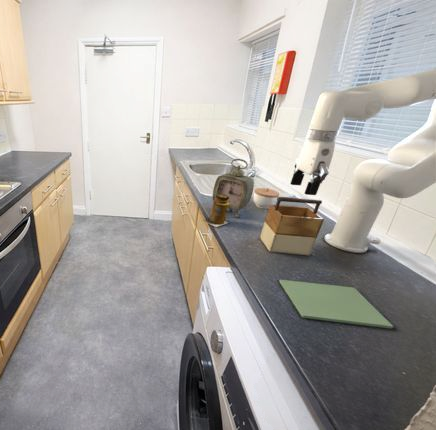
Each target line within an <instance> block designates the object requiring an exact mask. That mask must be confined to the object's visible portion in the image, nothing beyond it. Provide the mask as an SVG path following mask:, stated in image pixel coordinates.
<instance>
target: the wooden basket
mask: <svg viewBox="0 0 436 430" xmlns="http://www.w3.org/2000/svg"><path fill="white" fill-rule="evenodd" d="M281 202H286V203H296V204H297V203H299V204H312V205H313V204H314V205H315V207H314V209H311V208H310V207H308V206H298V205H297V206H296V205H282V204H281ZM322 203H323V201H322V199H313V198H299V197H298V198H297V197H285V196H284V197H283V196H278V198H277V201H276V203H275V204H274V205H271V204H270V206H269V208H268V209H267V213H266V216H265V220H264V222H266V224H267V225H268V226H269V227H270V228H271V230H272V231H273V232H274V233H275V234H278V235H289V236H300V237H311V238H316V239H317V238H318V235H319V233H320V230H321V228H322V225H323V223H324V221H325V219H324V218H323V217H322V216H321V215H319V214H318V211H319V208H320V206H321V205H322Z"/></svg>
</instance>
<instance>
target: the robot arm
mask: <svg viewBox="0 0 436 430" xmlns="http://www.w3.org/2000/svg"><path fill="white" fill-rule="evenodd" d="M433 100H434V101H433ZM429 101H433V103H432V106H431V111H430V113H429V116H428V119H427V122H425V124H424V125H423V126H422V127H421V128H419V129H418V130H417V131H415V132H413V133H412V134H411V135H409V136H407V137H406V138H404V139H403V140H401V141H400V142H399V143H397V144H396V145H394V146H393V147H392V148H391V149H390V150H389V151H388V152H387V155H386V159H387V160H384V159H379V158H378V159H377V158H373V159H372V158H371V159H367V160H363V161H362V162H360V163H359V164H358V165H357V166H356V167H355V169H354V171H353V173H352V179H351V184H350V189H349V192H348V195H347V197H346V199H345V202H344V204H343V206H342V208H341V211H340V213H339V216H338V217H337V220H336V223H335V225H334V227H333V229H332V232H331V233H327V234H325V235H324V238H323V239H324V241H325V242H326V243H327V244H328V245H330V246H332V247H334V248H337V249H338V250H341V251H346V252H349V253H356V254H363V253H366V252H367V251H368V249H369V247H368V245H371V244H372V245H379V244H380V243H381V240H380V239H379V238H372V236H370V235H369V234H370V232H371V231H372V228H373V226H374V224H375V222H376V221H377V218H378V216H379V214H380V212H381V211H382V208H383V206H384V201H385V195H387V196H390V197H393V198H397V199H408V198H412V197H414V196H416V195H418V194H419V193H421V192H423V191H424V190H426V189H427V188H430V187H431V186H433V185H434V184H436V67H435V68H431V69H427V70H425V71H424V70H423V71H420V72H417V73H413V74H409V75H406V76H401V77H396V78H390V79H387V80H382V81H377V82H372V83H367V84H362V85H358V86H357V85H356V86H354V87H350V88H347V89H343V90H328V91H323V92H322V93H321V94H320V95H319V96H318V100H317V103H316V105H315V108H314V112H313V114H312V118H311V120H310V123H309V126H308V129H307V133H306V134H305V135H306V136H305V138H304V140H305V141H304V143H303V146H302V148H301V150H300V152H299V155H298V157H297V158H296V159H295V165H294V170H293V173H292V177H291V181H290V185H291V186H302V183H303V181H304V177H305V174H306V175H309V181H308V182H307V185H306V188H305V191H304V194H305V195H307V196H317V193H318V191H319V189H320V186H321V184H323V181H325V180H326V178H327V176H328V175H329V173H330V172H329V169H330V166H331V163H332V159H333V156H334V153H335V147H336V141H337V138H338V135H339V133H340V130H341V127H342V126H343V125H342V124H343V122H344V119H346V120H353V121H366V120H369V119H372V118H374V117H376V116H377V115H378V114H380V113H381V112H382V111H383V109H384V110H386V109H388V110H390V109H391V110H392V109H401V108H408V107H411V106H415V105H418V104H422V103H425V102H429Z"/></svg>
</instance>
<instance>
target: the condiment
mask: <svg viewBox="0 0 436 430" xmlns="http://www.w3.org/2000/svg"><path fill="white" fill-rule="evenodd" d="M228 201H229V196H228V195H225V194H216V198H215V200H214V202H212V207H211V212H210V217H208V218H205V219H202V221H203V222H205V223H207V224H208V225H210V226H213V227H215V228H218V227H221V226H223V225H226V224H229V221H226V217H227V213H228V210H229V209H228V205H229V203H228Z"/></svg>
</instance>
